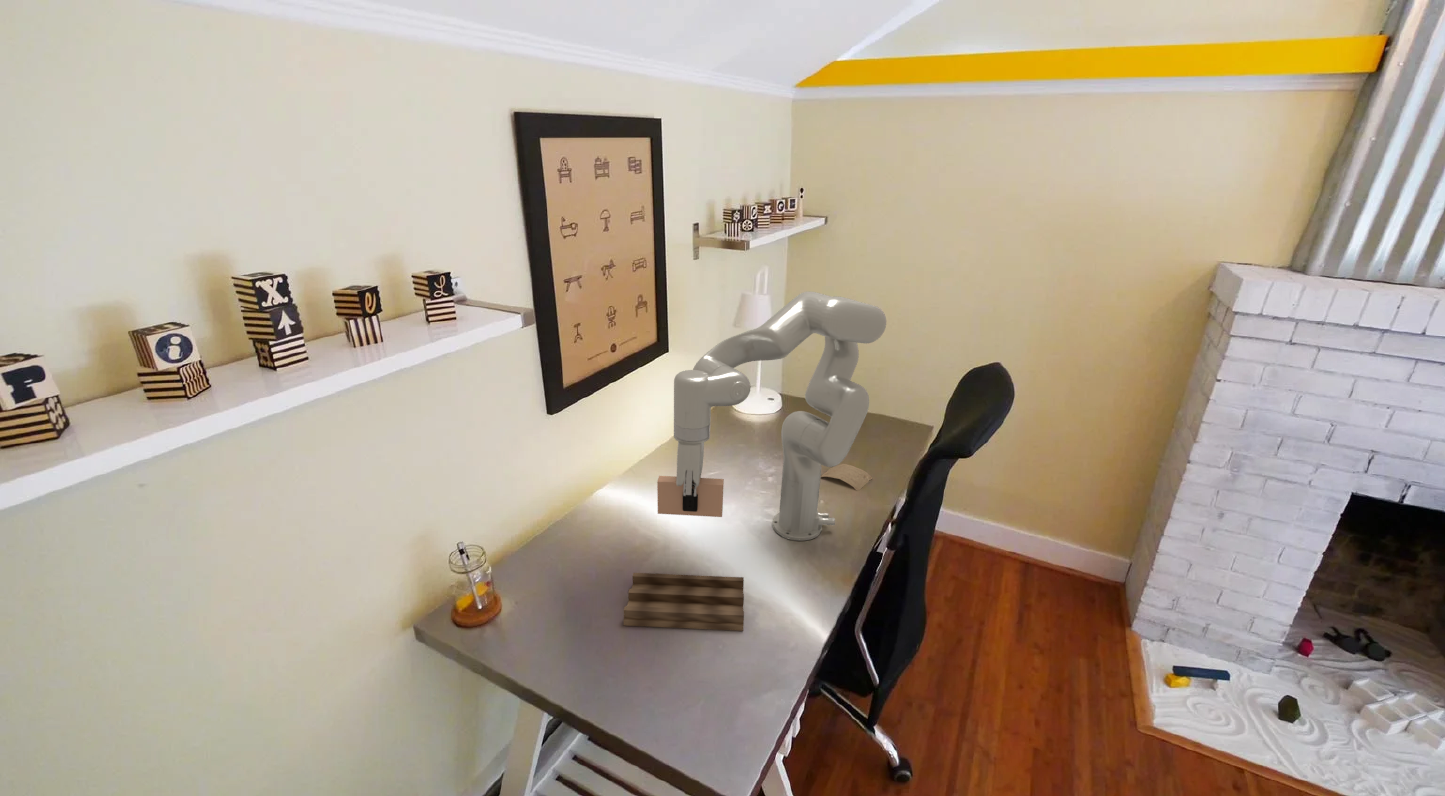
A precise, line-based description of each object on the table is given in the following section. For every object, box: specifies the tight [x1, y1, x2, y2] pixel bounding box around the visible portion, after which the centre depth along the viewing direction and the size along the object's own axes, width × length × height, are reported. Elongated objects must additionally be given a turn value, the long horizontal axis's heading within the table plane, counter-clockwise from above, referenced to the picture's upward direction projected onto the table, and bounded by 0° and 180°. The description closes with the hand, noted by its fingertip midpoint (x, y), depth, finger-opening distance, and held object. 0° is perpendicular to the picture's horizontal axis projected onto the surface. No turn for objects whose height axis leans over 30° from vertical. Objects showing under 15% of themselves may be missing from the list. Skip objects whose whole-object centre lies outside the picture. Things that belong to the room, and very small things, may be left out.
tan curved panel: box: [821, 463, 873, 491], centre depth 177 cm, size 14×10×3 cm
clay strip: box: [656, 475, 725, 518], centre depth 127 cm, size 14×2×8 cm, turn 88°
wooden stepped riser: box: [623, 572, 745, 632], centre depth 123 cm, size 24×12×4 cm, turn 88°
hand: (690, 506), depth 128 cm, fingers closed on clay strip, 2 cm apart
